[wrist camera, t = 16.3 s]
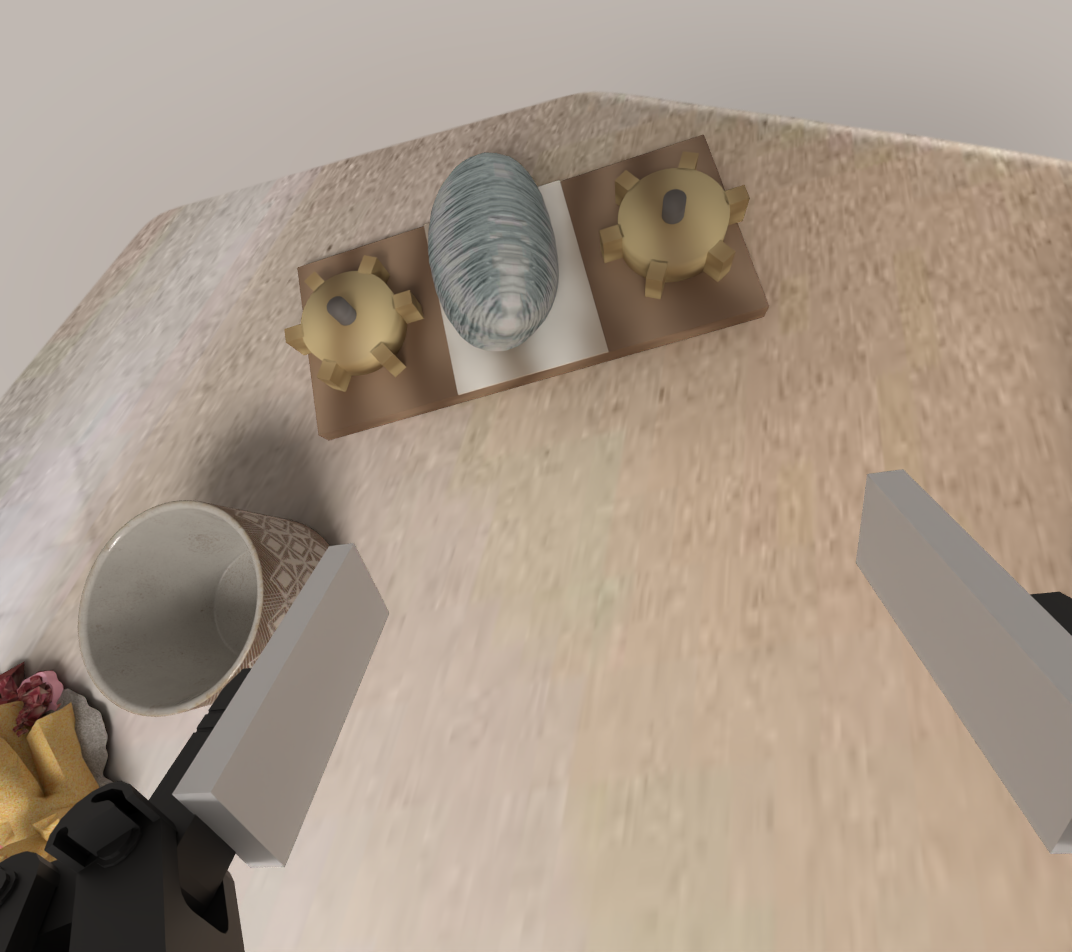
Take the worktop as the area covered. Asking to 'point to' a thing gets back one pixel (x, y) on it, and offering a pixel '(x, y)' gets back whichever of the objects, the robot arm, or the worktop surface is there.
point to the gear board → (579, 307)
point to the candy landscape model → (44, 757)
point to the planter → (188, 602)
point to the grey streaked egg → (493, 252)
